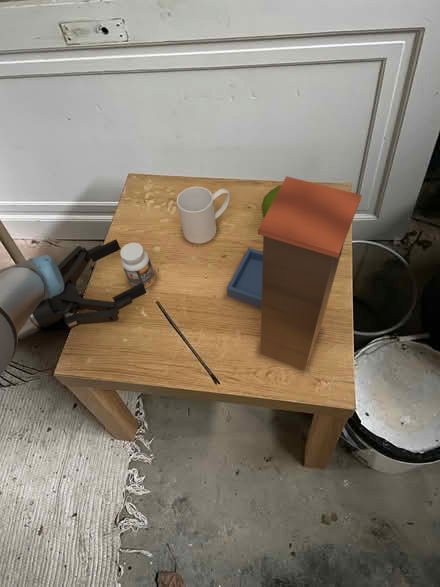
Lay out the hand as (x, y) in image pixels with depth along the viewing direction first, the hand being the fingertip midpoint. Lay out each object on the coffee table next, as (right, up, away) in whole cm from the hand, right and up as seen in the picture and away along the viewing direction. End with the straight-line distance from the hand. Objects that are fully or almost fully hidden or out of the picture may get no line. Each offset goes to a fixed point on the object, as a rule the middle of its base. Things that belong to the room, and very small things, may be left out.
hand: (131, 265), depth 87 cm
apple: (+35, +8, +10) cm, 37 cm away
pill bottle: (+1, -3, +5) cm, 6 cm away
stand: (+32, -16, -6) cm, 36 cm away
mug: (+16, +9, +12) cm, 22 cm away
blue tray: (+28, -4, +2) cm, 28 cm away
